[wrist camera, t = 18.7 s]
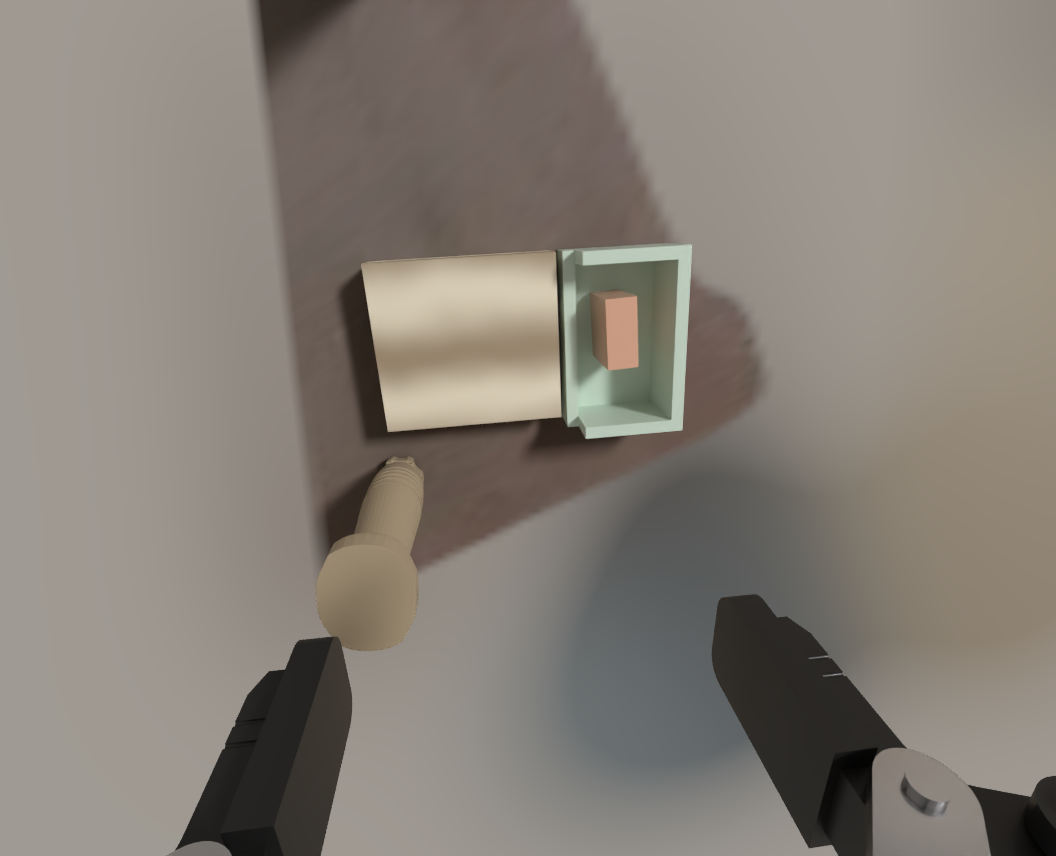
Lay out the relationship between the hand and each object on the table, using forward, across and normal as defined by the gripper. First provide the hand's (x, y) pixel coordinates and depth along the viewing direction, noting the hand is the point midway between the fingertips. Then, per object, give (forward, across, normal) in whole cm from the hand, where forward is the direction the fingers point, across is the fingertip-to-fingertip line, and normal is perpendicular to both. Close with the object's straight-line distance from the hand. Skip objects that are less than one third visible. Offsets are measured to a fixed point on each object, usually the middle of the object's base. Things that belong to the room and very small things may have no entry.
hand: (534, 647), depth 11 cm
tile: (+26, -8, -1) cm, 27 cm away
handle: (+29, +7, +10) cm, 31 cm away
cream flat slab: (+29, +1, -1) cm, 29 cm away
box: (+28, -9, 0) cm, 30 cm away
